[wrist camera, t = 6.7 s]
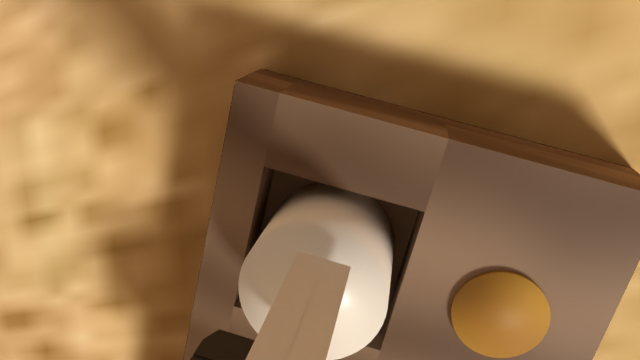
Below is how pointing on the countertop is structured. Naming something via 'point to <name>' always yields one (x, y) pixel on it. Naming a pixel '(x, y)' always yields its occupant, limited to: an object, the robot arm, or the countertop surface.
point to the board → (430, 223)
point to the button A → (328, 243)
